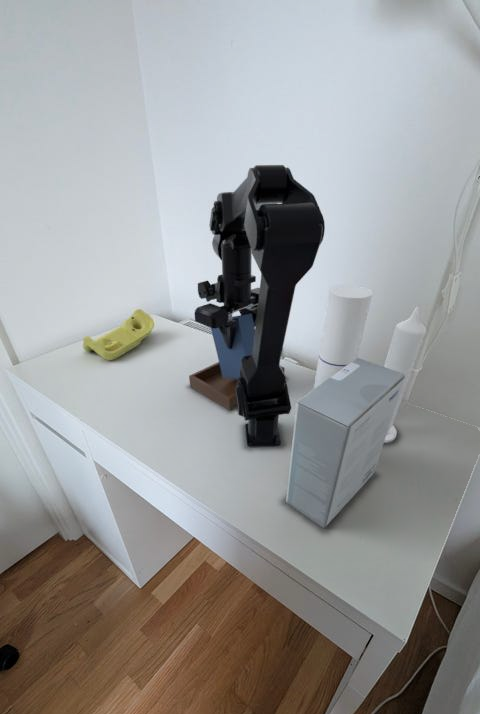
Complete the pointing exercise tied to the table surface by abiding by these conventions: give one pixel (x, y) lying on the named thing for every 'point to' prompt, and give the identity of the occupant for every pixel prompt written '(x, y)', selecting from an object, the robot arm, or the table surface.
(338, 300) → the cylindrical container
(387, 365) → the white nozzle bottle
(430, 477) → the table surface
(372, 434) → the hard drive box
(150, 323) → the plastic component
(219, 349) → the back pad
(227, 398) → the tray
